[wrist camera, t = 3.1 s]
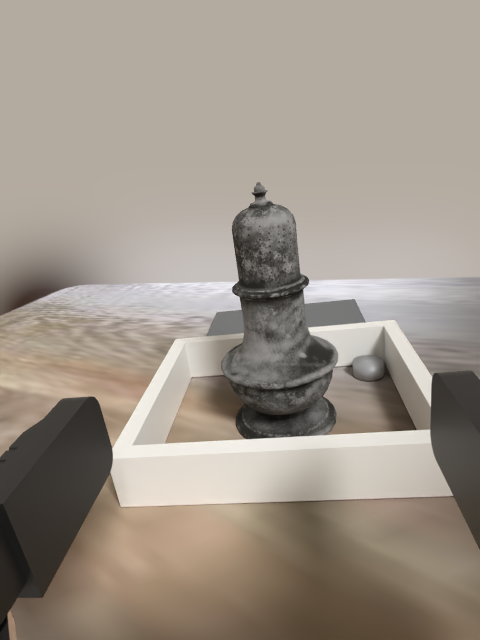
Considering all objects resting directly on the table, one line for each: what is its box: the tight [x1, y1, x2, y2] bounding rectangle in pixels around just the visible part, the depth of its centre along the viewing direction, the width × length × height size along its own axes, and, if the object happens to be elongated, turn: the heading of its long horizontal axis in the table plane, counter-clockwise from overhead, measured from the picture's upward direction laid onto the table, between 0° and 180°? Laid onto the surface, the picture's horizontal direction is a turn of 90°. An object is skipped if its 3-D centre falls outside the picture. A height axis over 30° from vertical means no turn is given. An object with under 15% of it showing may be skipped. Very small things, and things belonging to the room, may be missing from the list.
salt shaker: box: [221, 182, 338, 439], centre depth 21 cm, size 6×6×12 cm
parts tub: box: [110, 320, 453, 507], centre depth 22 cm, size 14×12×2 cm
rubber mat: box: [207, 299, 366, 336], centre depth 34 cm, size 12×8×1 cm, turn 85°
